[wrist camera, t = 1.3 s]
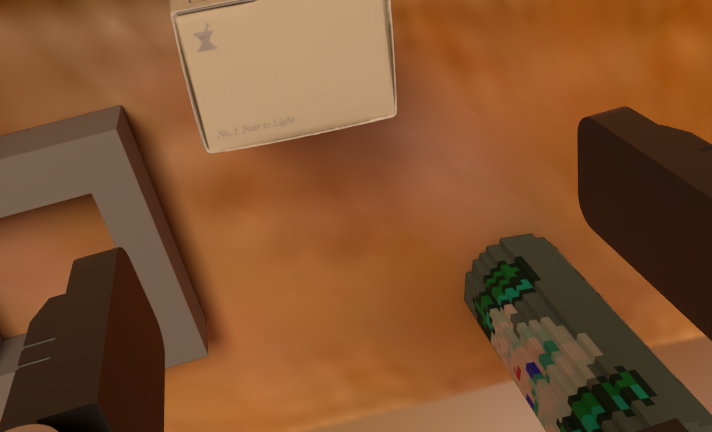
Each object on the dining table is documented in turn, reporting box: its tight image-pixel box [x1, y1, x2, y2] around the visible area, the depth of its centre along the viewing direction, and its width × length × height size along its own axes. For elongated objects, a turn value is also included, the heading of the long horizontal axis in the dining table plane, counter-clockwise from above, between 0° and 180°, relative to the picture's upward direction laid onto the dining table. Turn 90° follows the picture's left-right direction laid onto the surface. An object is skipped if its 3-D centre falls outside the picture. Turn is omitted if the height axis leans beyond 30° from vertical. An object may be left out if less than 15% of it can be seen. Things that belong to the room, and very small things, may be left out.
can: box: [464, 234, 712, 432], centre depth 35 cm, size 6×6×15 cm
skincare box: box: [170, 0, 397, 153], centre depth 24 cm, size 6×4×12 cm
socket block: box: [0, 105, 208, 418], centre depth 32 cm, size 12×13×3 cm
